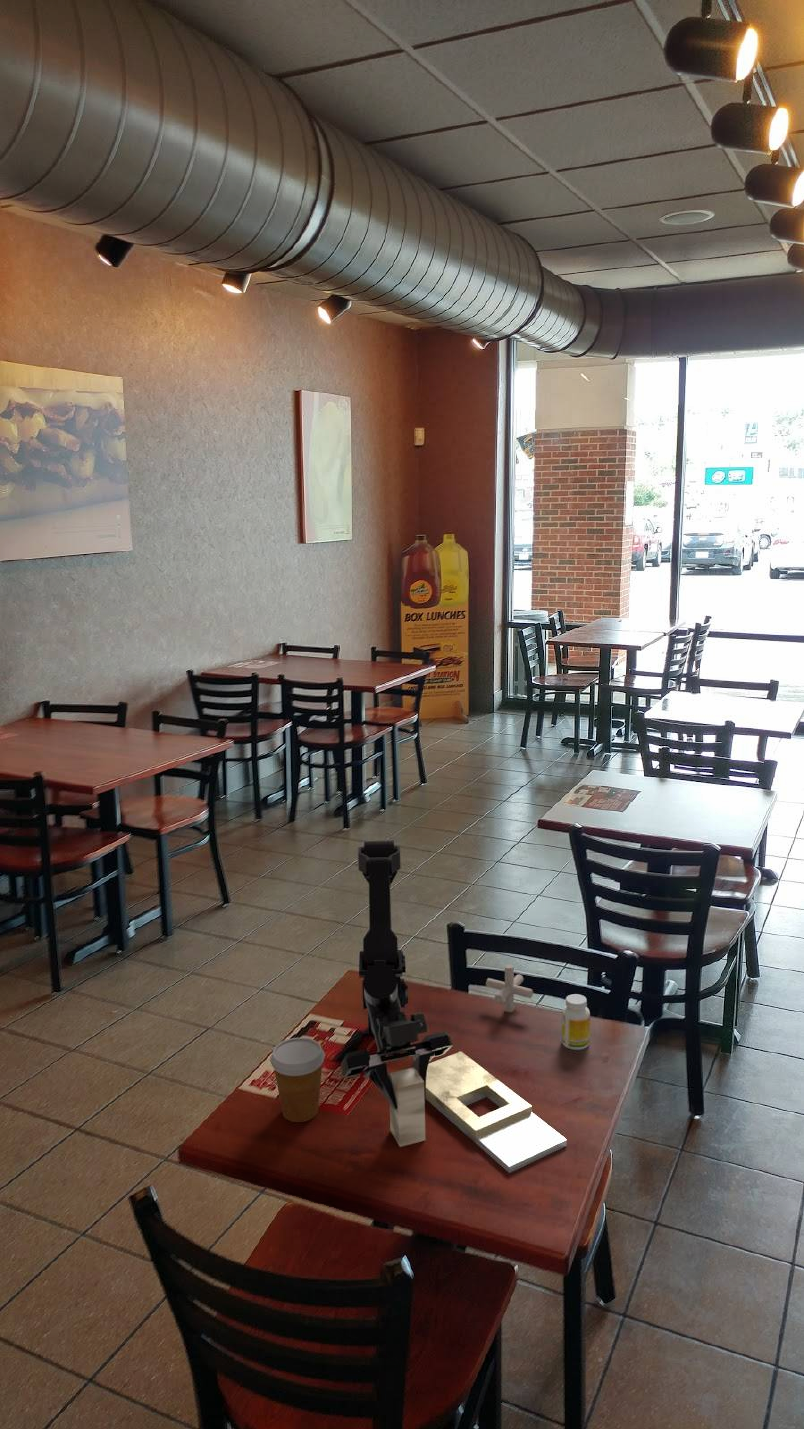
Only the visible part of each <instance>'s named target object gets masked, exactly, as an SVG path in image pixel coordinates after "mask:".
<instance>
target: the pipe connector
mask: <svg viewBox="0 0 804 1429" xmlns="http://www.w3.org/2000/svg"><path fill="white" fill-rule="evenodd" d="M514 973H515V971H514V965H513V964H511V963H510V964H509V963H508V964H505V965H504V981H502V980H498V979H494V978H489V977H488V978H487V979H486V981H485V986H486V987H487V988H490V989H494V990H498V992H497V993H496V994H495V995H494V1000H495V1002H496V1003H498V1004H500V1003H503V1001H504V1012H506V1013H513V1012H514V1010H515V1008H514V1004H515V1003H514V1001H515V1000H514V999H515V998H514V997H515V996H514V995H517V996H519V997H524V998H528V999H531V998H532V997H533V994H534V991H533V990H534V989H531V988H528V987H524V986H520V985H521V984H522V983H523V982H524V977H523V975H522V974H516V975H514Z"/></svg>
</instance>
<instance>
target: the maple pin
mask: <svg viewBox="0 0 804 1429" xmlns="http://www.w3.org/2000/svg"><path fill="white" fill-rule="evenodd" d="M388 1077H389V1080H390V1083H391V1086H392V1089H393V1092H394V1095H395V1098H396V1103H397V1109H395V1110H394V1109H393V1107H392V1106H391V1104H390V1103H389V1117H390V1118H389V1119H390V1121H389V1124H390V1125H389V1126H390V1133H391V1135H392V1136H393V1138H394V1139H395V1141H396V1143H397V1144H398V1146H399V1147H400V1148H402V1147H405V1146H410V1145H413V1144H416V1143H417V1144H418V1143H420V1142H423V1141H424V1142H425V1141H426V1110H425V1106H426V1105H425V1104H426V1103H425V1102H426V1099H424V1081H423V1079H422V1078H421V1077H420V1075H419V1074H418V1072H417V1071H416V1069H415V1068H412V1067H410V1068H405V1069H402V1070H397V1071H392V1072H388Z"/></svg>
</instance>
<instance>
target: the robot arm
mask: <svg viewBox="0 0 804 1429" xmlns="http://www.w3.org/2000/svg"><path fill="white" fill-rule="evenodd" d="M357 849H358V850H357V860H358V861H357V862H358V864H357V865H358V871H360V872H361V873H362V876H363V878H365V880H366V882H367V884H368V900H369V901H368V902H369V903H368V906H369V907H368V908H369V909H368V911H369V912H368V913H369V918H368V920H369V921H368V922H369V924H368V925H369V929H368V931H367V932H366V934H365V935H364V937H363V939H362V944H363V945H362V947H363V948H362V950H359V954H358V955H359V961H358V977H359V979H362V978H363V979H362V981H361V986H362V987H361V988H362V990H361V991H362V1005H363V1007H362V1009H363V1010H367V1027H366V1029H364V1030H363V1034H364V1035H366V1036H371V1037H373V1038H374V1039H375V1043H376V1047H377V1049H376V1052H373V1053H370V1051H369V1050H368V1049H367V1048H364V1049H360V1050H359V1049H358V1050H355V1051H349V1052H347V1053H346V1055H345V1056H344V1058H343V1059H342V1061H341V1063H340V1069H341V1074H342V1077H343V1078H350V1077H354V1076H357V1075H361V1074H362V1072H363V1071H364V1074H363V1078H364V1079H369V1080H371V1082H372V1083H373V1084H374V1085H375V1086H376V1087H377V1089H378V1090H379V1091H380V1092H381V1093H382V1094H383V1096H384V1098H386V1100H387V1102H388V1103H389V1105H390V1104H391V1106H392V1107H393V1109H394V1110H395V1109H397V1103H396V1098H395V1095H394V1092H393V1089H392V1086H391V1083H390V1080H389V1072H388V1067H387V1063H388V1062H393V1061H397V1060H401V1059H407V1058H410V1057H412V1058H413V1062H412V1063H411V1068H415V1069H416V1071H417V1072H418V1074H419V1075H420V1077H421V1078H422V1079H423V1081H424V1099H425V1096H426V1074H427V1068H428V1064H429V1063H431V1061H432V1060H433V1058H436V1057H440V1056H444V1055H445V1054H446V1053H447V1052H448V1051H449V1050H450V1049H451V1048H452V1047H453V1043H452V1042H453V1041H452V1039H451V1036H450V1035H449V1033H447V1032H446V1031H440V1032H435V1033H432V1034H431V1033H430V1034H427V1035H425V1037H424V1038H423V1039H422V1040H421V1042H418V1041H419V1040H420V1038H419V1034H424V1033H427V1032H428V1025H427V1020H426V1018H425V1015H424V1013H423V1012H417V1013H413V1014H411V1015H410V1019H407V1016H406V1014H405V1011H403V1010H402V1008H403V1009H405V1008H406V1005H407V1004H409V986H408V984H407V983H406V981H405V978H404V977H403V973H407V971H406V956H405V954H403V953H404V952H403V950H402V949H399V948H398V945H399V944H398V937H397V935H396V934H395V932H394V931H393V929H392V902H391V898H392V897H391V885H392V884H393V882H394V880H395V877H396V876H397V874H398V871H399V870H401V868H402V863H401V862H402V861H401V845H395V840H367V841H366V840H365V841H363V846H358V848H357ZM402 977H403V978H402ZM415 1042H417V1043H415ZM425 1100H426V1099H425Z"/></svg>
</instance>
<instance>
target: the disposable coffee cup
mask: <svg viewBox="0 0 804 1429" xmlns="http://www.w3.org/2000/svg"><path fill="white" fill-rule="evenodd" d="M269 1058H270V1060H269V1061H270V1064H271V1066H272V1068H273V1072H274V1076H275V1081H276V1085H277V1091H278V1092H277V1093H278V1096H279V1097H278V1098H279V1102H280V1107H281V1111H282V1116H283V1117H284V1119H286V1120H288V1121H289V1122H294V1123H302V1122H303V1123H304V1122H308V1121H310V1120H312V1119H314V1118H315V1117H316V1116H317V1115H318V1113H319V1105H320V1093H321V1083H322V1082H321V1081H322V1071H323V1064H324V1060H325V1058H326V1054H325V1051H324V1050H323V1047H322V1045H321V1044H320V1042H319V1041H317V1040H316V1039H312V1038H308V1037H293V1038H287V1039H285V1040H283V1041H280V1042H279V1043H278V1044H276V1045H275V1046H274V1048H273V1050H272V1053H271V1055H270V1057H269Z"/></svg>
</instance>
